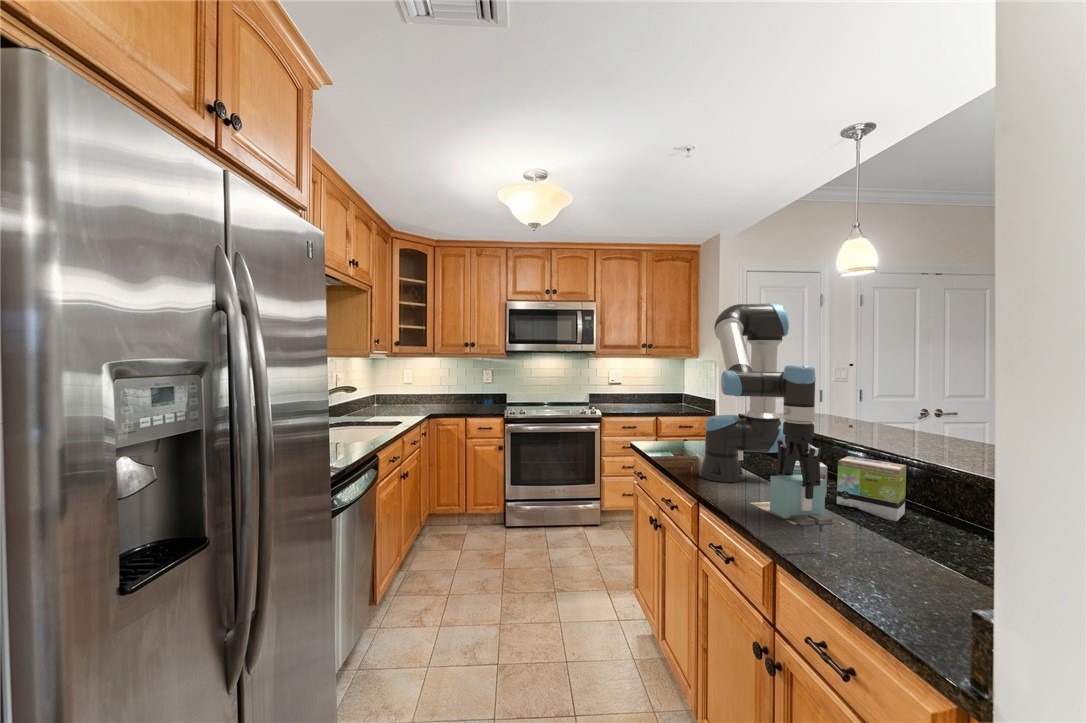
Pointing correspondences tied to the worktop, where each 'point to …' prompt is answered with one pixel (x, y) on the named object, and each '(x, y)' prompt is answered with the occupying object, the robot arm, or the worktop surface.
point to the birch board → (766, 507)
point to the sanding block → (793, 496)
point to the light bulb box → (822, 473)
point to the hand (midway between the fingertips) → (797, 506)
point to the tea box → (872, 486)
